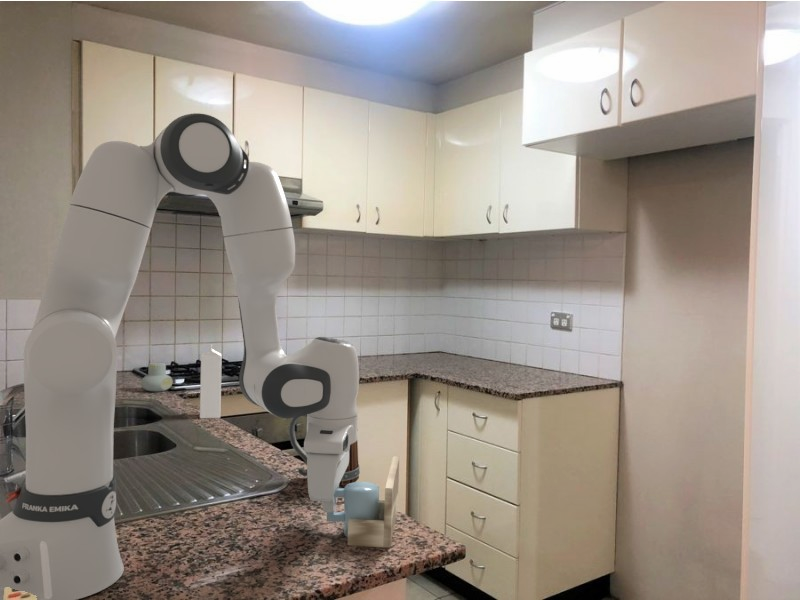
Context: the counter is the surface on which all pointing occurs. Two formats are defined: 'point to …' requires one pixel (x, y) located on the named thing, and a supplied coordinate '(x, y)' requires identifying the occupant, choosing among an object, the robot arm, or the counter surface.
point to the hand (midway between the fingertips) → (330, 508)
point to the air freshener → (156, 378)
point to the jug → (357, 503)
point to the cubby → (381, 529)
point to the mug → (353, 466)
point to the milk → (210, 384)
